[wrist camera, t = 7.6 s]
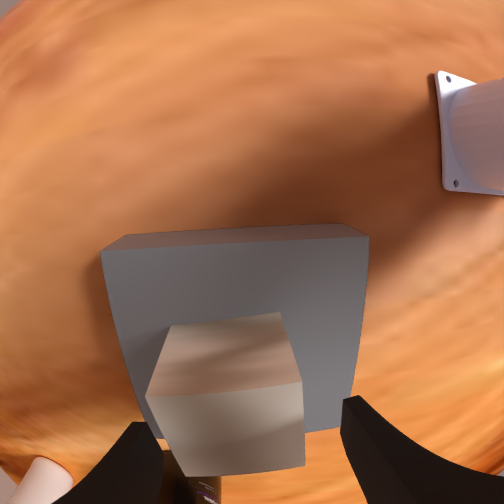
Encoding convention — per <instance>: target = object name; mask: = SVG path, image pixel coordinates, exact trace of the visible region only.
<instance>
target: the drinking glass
mask: <svg viewBox="0 0 504 504" xmlns="http://www.w3.org/2000/svg"><path fill="white" fill-rule="evenodd" d="M72 485H73V478H72V476H71V475H70V474H69V472H68V471H67V470H65V469H64V468H63V467H62V466H60V465H59V464H57V463H56V462H54V461H52V460H50V459H47V458H44V457H36V458H35V459H34V460H33V462H32V464H31V466H30V468H29V469H28V471H27V473H26V474H25V476H24V477H23V479H22V480H21V482H20V483H19V485H18V487H17V488H16V490H15V491H14V493H13V495H12V496H11V498H10V499H9V501H8V502H7V504H51V503H53V502H54V501H56V500H57V499H59V498H60V497H62V496H63V495H64V494H66V493H67V492H68V491H70V490H71V488H72Z"/></svg>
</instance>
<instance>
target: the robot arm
mask: <svg viewBox="0 0 504 504" xmlns="http://www.w3.org/2000/svg"><path fill="white" fill-rule="evenodd" d="M446 78H447V80H448V82H447V80H446ZM435 83H436V90H437V97H438V106H439V116H440V127H441V143H442V183H443V187H444V189H445V190H448V191H459V192H471V193H483V194H493V195H503V196H504V78H501V79H496V80H492V81H488V82H483V83H479V84H477V83H474V82H472V81H469V80H466V79H464V78H461V77H458V76H455V75H453V74H450V73H447V72H444V71H437V72H436V73H435ZM454 181H455V186H454ZM340 435H341V438H342V442H343V445H344V448H345V452H346V455H347V457H348V460H349V462H350V464H351V466H352V469H353V471H354V473H355V475H356V477H357V480H358V482H359V484H360V486H361V489H362V491H363V493H364V495H365V497H366V500H367V503H368V504H504V477H503V476H496V475H491V474H486V473H482V472H479V471H475V470H472V469H469V468H466V467H463V466H461V465H458V464H455V463H453V462H450V461H448V460H446V459H444V458H442V457H440V456H438V455H436V454H434V453H432V452H430V451H429V450H427V449H425V448H424V447H422V446H420V445H419V444H417V443H416V442H414V441H413V440H411V439H410V438H409V437H407V436H406V435H404V434H403V433H402V432H400V431H399V430H398V429H397V428H395V427H394V426H393V425H392V424H390V423H389V422H388V421H387V420H386V419H384V418H383V417H382V416H381V415H380V414H379V413H378V412H377V411H375V410H374V409H373V408H372V407H371V406H370V405H369V404H368V403H367V402H366V401H365V400H364V399H363V398H362V397H361V396H359V395H357V396H353V397H350V398H346V399H343V404H342V417H341V428H340ZM163 460H164V453H163V451H162V449H161V447H160V446H159V444H158V442H157V440H156V438H155V437H154V435H153V433H152V431H151V429H150V427H149V425H148V423H147V422H132V423H131V424H130V425H129V426H128V428H127V429H126V430H125V431H124V433H123V434H122V435H121V436H120V438H119V439H118V440H117V441H116V443H115V444H114V445H113V446H112V448H111V449H110V450H109V451H108V452H107V454H106V455H105V456H104V457H103V458H102V460H101V461H100V462H99V463H98V464H97V465H96V466H95V467H94V468H93V469H92V470H91V471H90V472H89V474H88V475H87V476H86V477H85V478H83V479H82V480H81V481H80V482H79V483H78V484H77V485H76V486H75V487H73V488H72V489H71V490H70V491H68V492H67V493H66V494H64V495H63V496H62V497H60V498H59V499H57V500H56V501H54V502H53V503H51V504H157V502H158V497H159V492H160V487H161V481H162V476H163Z"/></svg>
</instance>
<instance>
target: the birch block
mask: <svg viewBox="0 0 504 504" xmlns="http://www.w3.org/2000/svg"><path fill="white" fill-rule="evenodd" d="M145 398H146V400H147V403H148V405H149V407H150V409H151V411H152V413H153V416H154V418H155V420H156V422H157V424H158V426H159V428H160V430H161V432H162V434H163V436H164V438H165V440H166V442H167V444H168V446H169V448H170V449H171V451H172V453H173V455H174V457H175V459H176V460H177V462H178V464H179V466H180V467H181V469H182V471H183V473H184V474H185V476H186V477H200V476H227V475H241V474H252V473H261V472H269V471H276V470H283V469H289V468H295V467H301V466H305V433H304V407H303V386H302V379H301V376H300V373H299V369H298V366H297V363H296V360H295V357H294V354H293V351H292V348H291V345H290V341H289V338H288V335H287V332H286V329H285V326H284V323H283V320H282V317H281V313H280V312H274V313H267V314H260V315H253V316H246V317H239V318H231V319H223V320H216V321H208V322H199V323H190V324H181V325H172V326H171V327H170V330H169V332H168V335H167V337H166V340H165V343H164V345H163V348H162V351H161V353H160V356H159V359H158V361H157V364H156V367H155V370H154V372H153V375H152V378H151V381H150V383H149V386H148V389H147V392H146V395H145Z"/></svg>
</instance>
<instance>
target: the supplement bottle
mask: <svg viewBox="0 0 504 504" xmlns="http://www.w3.org/2000/svg"><path fill="white" fill-rule="evenodd" d="M163 453H164V460H163V476H162V481H161V487H160V492H159V497H158V502H157V504H221V476H200V477H186V476H185V474H184V473H183V471H182V469H181V467H180V466H179V464H178V462H177V460H176V459H175V457H174V455H173V453H172V451H166V452H163Z"/></svg>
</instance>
